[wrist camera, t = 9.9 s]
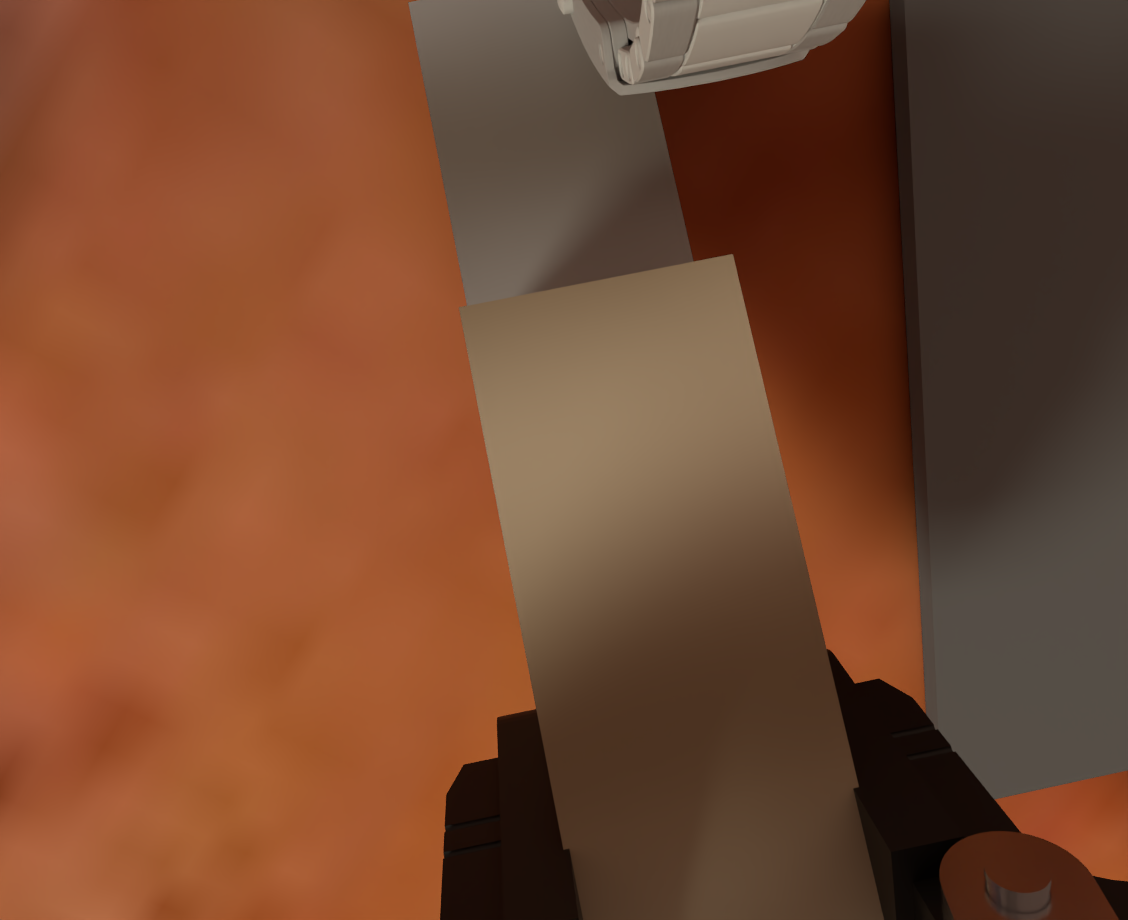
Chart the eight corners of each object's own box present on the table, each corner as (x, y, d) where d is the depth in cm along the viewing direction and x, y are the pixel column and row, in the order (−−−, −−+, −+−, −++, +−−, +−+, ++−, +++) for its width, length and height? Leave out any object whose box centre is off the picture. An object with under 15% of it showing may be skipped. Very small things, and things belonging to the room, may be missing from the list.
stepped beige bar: (822, 1015, 13) (972, 1264, 9) (622, 1059, 13) (657, 1335, 8) (613, 81, 15) (636, -156, 11) (438, 114, 15) (379, -109, 10)
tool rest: (930, 794, 23) (941, 810, 22) (889, -1, 17) (904, -7, 16) (1239, 726, 23) (1258, 741, 22) (1311, -82, 17) (1341, -90, 16)
